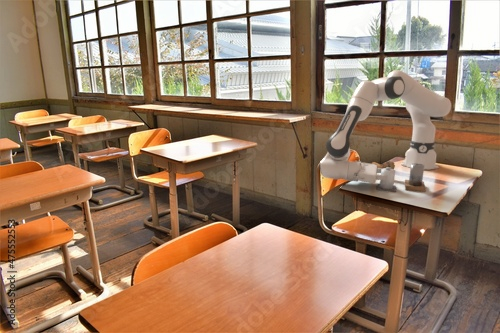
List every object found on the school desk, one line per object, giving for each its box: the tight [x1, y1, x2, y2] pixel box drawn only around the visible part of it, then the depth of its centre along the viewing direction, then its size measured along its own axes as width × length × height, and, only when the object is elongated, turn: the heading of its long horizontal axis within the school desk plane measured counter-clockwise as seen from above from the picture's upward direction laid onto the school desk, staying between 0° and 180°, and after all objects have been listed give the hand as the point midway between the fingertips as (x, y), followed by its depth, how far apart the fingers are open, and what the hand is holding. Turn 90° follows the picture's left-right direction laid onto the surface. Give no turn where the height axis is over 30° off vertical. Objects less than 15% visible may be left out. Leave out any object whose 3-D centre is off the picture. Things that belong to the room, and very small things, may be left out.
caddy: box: [404, 179, 427, 193], centre depth 172 cm, size 10×8×4 cm
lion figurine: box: [371, 160, 396, 170], centre depth 188 cm, size 15×5×9 cm, turn 46°
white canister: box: [379, 167, 396, 189], centre depth 170 cm, size 6×6×9 cm
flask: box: [408, 164, 425, 186], centre depth 169 cm, size 5×5×9 cm
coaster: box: [376, 183, 397, 193], centre depth 171 cm, size 8×8×1 cm
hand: (387, 174), depth 169 cm, fingers open, 8 cm apart
